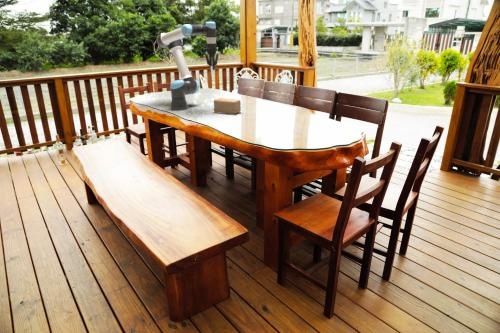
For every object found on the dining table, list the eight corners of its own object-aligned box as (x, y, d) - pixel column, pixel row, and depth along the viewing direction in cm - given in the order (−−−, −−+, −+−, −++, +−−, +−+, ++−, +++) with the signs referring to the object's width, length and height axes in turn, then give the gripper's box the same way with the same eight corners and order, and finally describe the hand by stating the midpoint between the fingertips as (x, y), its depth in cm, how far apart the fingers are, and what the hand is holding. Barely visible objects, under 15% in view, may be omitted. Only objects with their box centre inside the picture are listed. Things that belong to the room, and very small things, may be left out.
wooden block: (213, 112, 266) (235, 114, 258) (213, 99, 263) (234, 101, 254) (220, 109, 275) (241, 111, 266) (219, 97, 271) (240, 99, 263)
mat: (215, 112, 266) (215, 112, 266) (222, 109, 278) (222, 108, 278) (234, 113, 261) (234, 113, 261) (240, 110, 273) (240, 109, 273)
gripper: (201, 43, 255) (203, 74, 264) (216, 43, 251) (218, 75, 260) (206, 43, 261) (207, 73, 270) (220, 43, 257) (221, 74, 266)
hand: (212, 74), depth 265 cm, fingers closed
